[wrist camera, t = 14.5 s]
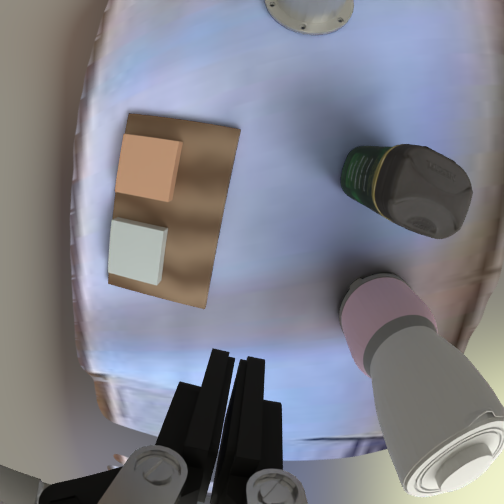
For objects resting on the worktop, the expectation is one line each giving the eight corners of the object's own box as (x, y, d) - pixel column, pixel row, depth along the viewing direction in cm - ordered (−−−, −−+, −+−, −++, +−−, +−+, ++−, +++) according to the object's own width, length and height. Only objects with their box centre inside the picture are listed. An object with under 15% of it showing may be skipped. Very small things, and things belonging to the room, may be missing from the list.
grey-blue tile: (168, 227, 44) (118, 216, 44) (163, 231, 42) (111, 219, 42) (161, 280, 46) (114, 267, 46) (156, 285, 44) (107, 272, 44)
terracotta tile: (183, 142, 40) (130, 134, 40) (179, 141, 38) (123, 133, 38) (172, 199, 43) (121, 189, 42) (168, 202, 40) (114, 191, 40)
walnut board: (131, 114, 40) (128, 113, 39) (240, 130, 40) (240, 129, 39) (110, 281, 48) (108, 283, 47) (205, 306, 48) (204, 309, 47)
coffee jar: (332, 194, 42) (375, 220, 24) (349, 139, 40) (403, 129, 22) (394, 216, 42) (461, 254, 25) (410, 164, 40) (488, 174, 22)
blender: (335, 275, 45) (416, 455, 15) (411, 264, 44) (547, 398, 14) (339, 363, 50) (382, 536, 19) (406, 350, 49) (486, 498, 18)
